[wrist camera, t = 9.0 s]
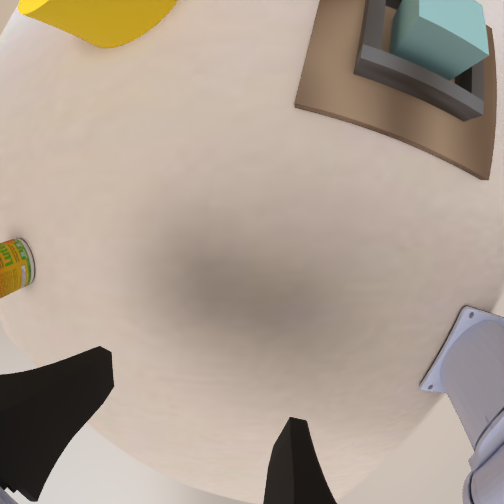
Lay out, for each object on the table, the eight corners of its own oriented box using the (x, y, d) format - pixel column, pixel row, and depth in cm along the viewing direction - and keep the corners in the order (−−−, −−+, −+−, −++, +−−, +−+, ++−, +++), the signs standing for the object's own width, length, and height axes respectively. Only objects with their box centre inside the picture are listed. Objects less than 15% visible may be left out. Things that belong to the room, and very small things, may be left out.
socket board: (486, 32, 10) (505, 18, 7) (481, 179, 14) (509, 181, 11) (329, -34, 12) (330, -60, 8) (295, 107, 15) (292, 89, 12)
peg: (444, 41, 11) (482, 5, 5) (442, 85, 12) (489, 55, 6) (392, 18, 12) (417, -30, 6) (387, 61, 13) (419, 16, 7)
